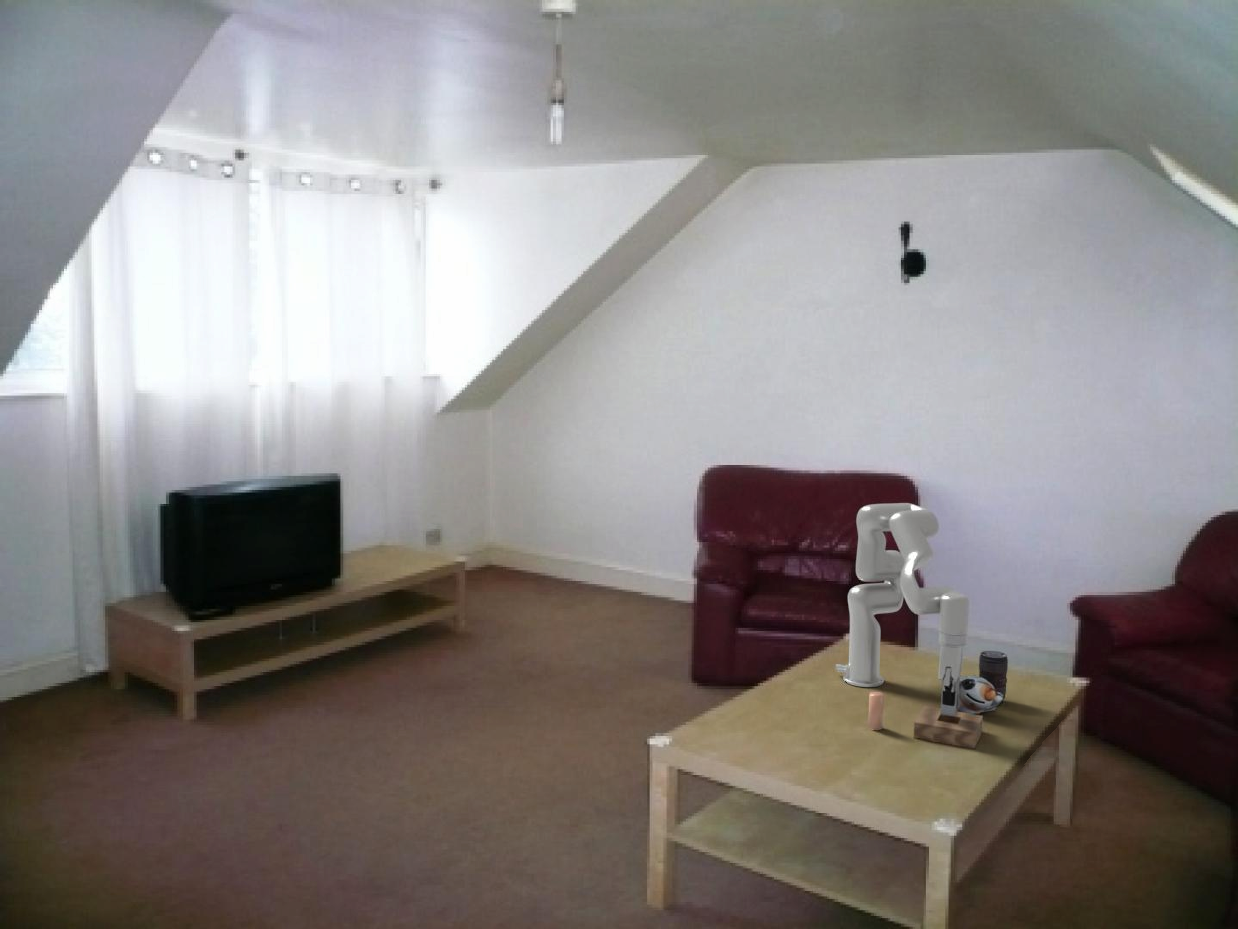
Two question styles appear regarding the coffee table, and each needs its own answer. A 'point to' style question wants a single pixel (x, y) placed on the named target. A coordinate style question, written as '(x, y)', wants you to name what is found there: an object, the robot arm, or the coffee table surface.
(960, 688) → the lucky cat figurine
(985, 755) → the coffee table surface
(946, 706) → the square bit
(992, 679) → the camera lens
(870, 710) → the round bit
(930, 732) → the bore block
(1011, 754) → the coffee table surface
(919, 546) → the robot arm
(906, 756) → the coffee table surface
